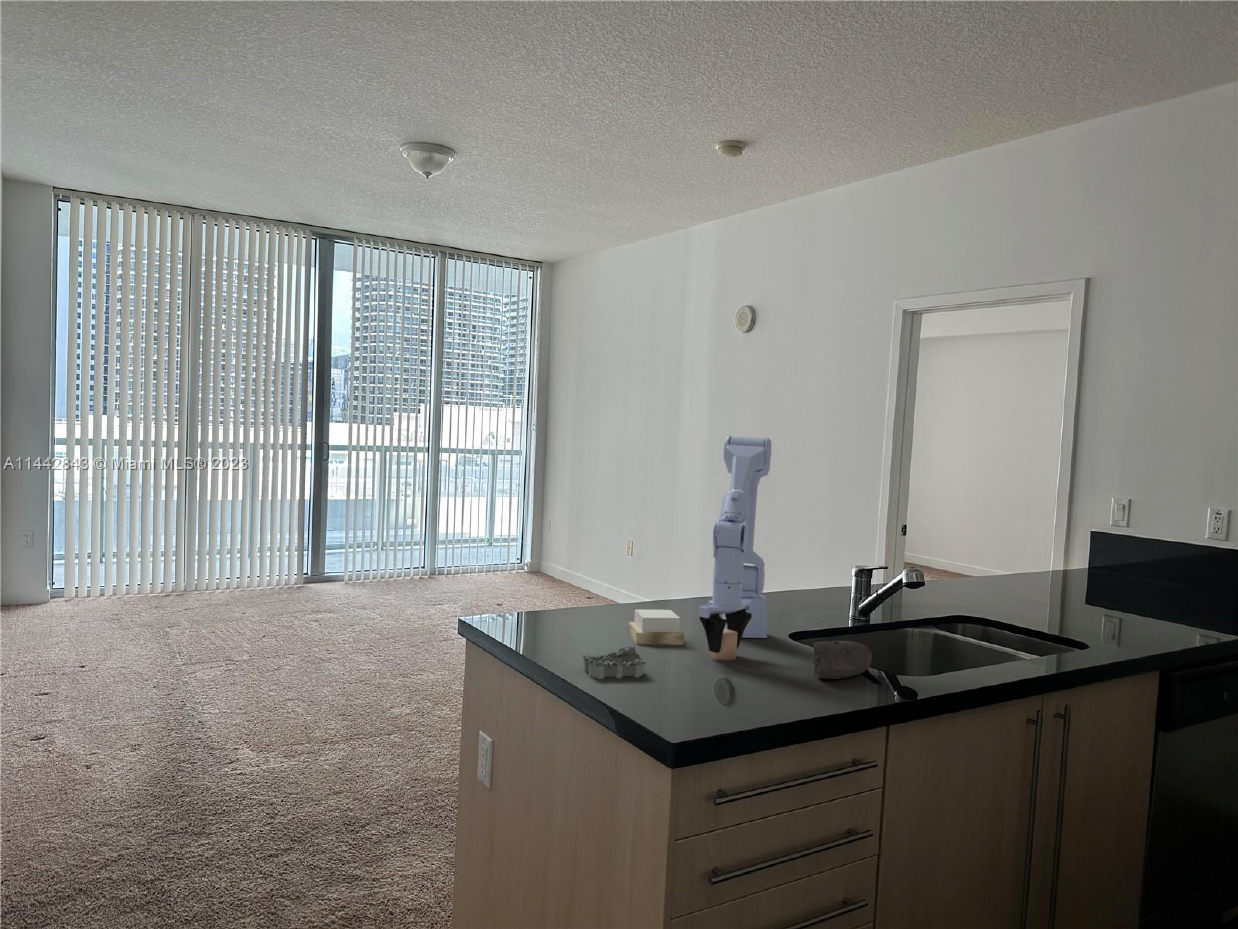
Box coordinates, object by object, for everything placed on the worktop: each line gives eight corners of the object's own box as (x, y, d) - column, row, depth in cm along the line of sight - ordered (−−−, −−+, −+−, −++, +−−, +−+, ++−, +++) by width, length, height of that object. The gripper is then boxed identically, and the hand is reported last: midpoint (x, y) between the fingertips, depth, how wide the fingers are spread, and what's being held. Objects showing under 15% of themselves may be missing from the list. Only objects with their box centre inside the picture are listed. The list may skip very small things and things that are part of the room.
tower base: (672, 636, 181) (673, 622, 181) (683, 648, 171) (684, 633, 171) (627, 635, 180) (628, 621, 180) (636, 647, 170) (636, 632, 170)
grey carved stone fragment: (636, 668, 153) (637, 646, 153) (647, 679, 146) (649, 656, 146) (580, 668, 150) (581, 646, 150) (589, 680, 143) (590, 657, 143)
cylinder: (731, 653, 166) (733, 629, 166) (739, 660, 161) (740, 635, 161) (707, 653, 165) (709, 628, 165) (714, 660, 161) (716, 634, 160)
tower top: (669, 623, 180) (670, 610, 180) (679, 632, 172) (680, 618, 172) (634, 623, 178) (634, 609, 178) (642, 632, 171) (642, 617, 171)
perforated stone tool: (860, 669, 160) (862, 634, 159) (881, 677, 155) (883, 640, 155) (801, 676, 152) (803, 639, 152) (821, 685, 148) (823, 646, 148)
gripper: (734, 575, 171) (730, 640, 171) (688, 581, 161) (684, 650, 161) (762, 581, 166) (758, 648, 166) (716, 587, 156) (712, 658, 156)
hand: (723, 649), depth 163 cm, fingers open, 5 cm apart
